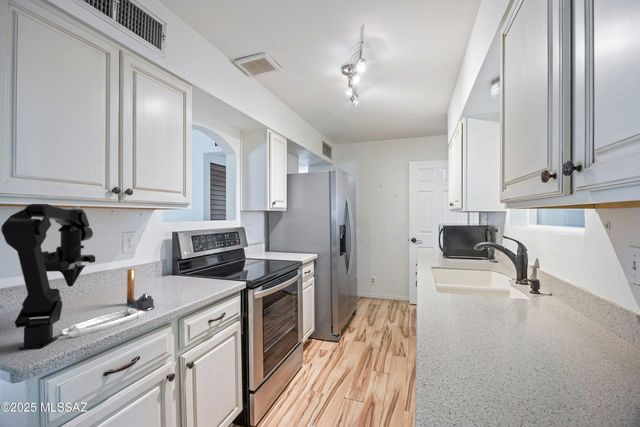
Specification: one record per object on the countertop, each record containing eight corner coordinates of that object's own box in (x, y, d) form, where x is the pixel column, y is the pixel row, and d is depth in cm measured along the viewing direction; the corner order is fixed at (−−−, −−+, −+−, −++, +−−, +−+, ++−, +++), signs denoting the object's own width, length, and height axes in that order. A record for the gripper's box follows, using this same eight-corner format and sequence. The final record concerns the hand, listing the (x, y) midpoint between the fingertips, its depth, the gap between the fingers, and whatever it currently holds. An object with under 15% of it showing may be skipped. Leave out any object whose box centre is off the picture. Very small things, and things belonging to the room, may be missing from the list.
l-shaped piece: (153, 307, 122) (154, 272, 122) (142, 310, 118) (143, 274, 118) (134, 301, 129) (134, 268, 129) (123, 303, 125) (123, 270, 125)
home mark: (138, 304, 125) (138, 304, 125) (131, 306, 123) (131, 306, 123) (134, 303, 127) (134, 302, 127) (127, 305, 124) (127, 304, 124)
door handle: (56, 335, 95) (133, 312, 118) (72, 342, 91) (149, 316, 113) (56, 327, 95) (133, 305, 118) (72, 333, 91) (149, 309, 113)
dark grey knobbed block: (150, 311, 118) (150, 296, 118) (131, 311, 117) (131, 296, 117) (157, 305, 125) (157, 291, 125) (140, 306, 124) (140, 292, 124)
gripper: (65, 240, 113) (64, 280, 113) (23, 246, 95) (22, 294, 95) (96, 240, 115) (95, 280, 115) (61, 246, 96) (60, 293, 97)
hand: (70, 286), depth 105 cm, fingers closed
